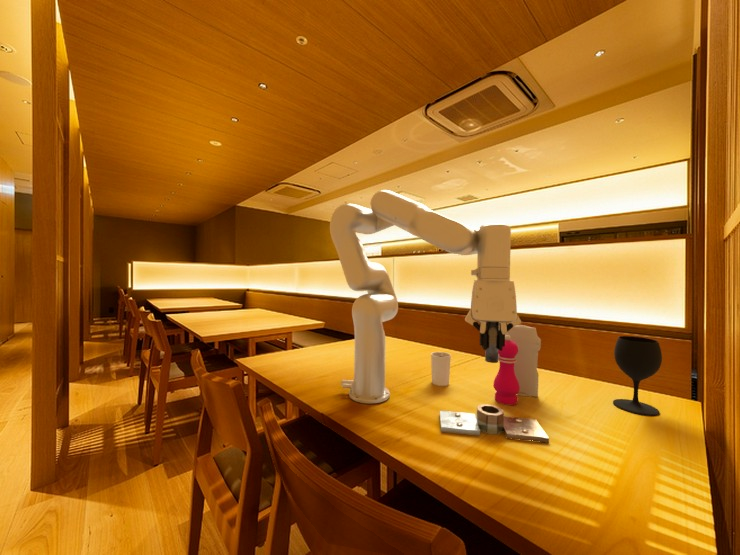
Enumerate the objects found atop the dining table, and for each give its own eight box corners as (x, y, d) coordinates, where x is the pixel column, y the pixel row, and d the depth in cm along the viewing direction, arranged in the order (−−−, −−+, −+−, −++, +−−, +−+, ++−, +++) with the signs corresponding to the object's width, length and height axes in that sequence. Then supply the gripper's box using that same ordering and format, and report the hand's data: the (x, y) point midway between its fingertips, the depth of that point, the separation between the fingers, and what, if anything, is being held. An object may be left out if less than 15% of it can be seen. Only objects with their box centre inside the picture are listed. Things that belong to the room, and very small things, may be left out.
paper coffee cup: (452, 382, 109) (453, 353, 109) (446, 388, 103) (447, 358, 103) (434, 378, 113) (435, 350, 112) (427, 383, 107) (428, 355, 107)
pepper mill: (522, 407, 90) (523, 338, 89) (495, 404, 91) (497, 336, 90) (515, 397, 97) (517, 333, 96) (491, 395, 98) (492, 331, 98)
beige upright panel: (539, 394, 99) (541, 325, 98) (539, 399, 95) (541, 327, 95) (503, 388, 104) (504, 322, 103) (501, 392, 100) (503, 324, 100)
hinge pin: (486, 362, 76) (487, 321, 76) (484, 359, 79) (484, 319, 79) (499, 363, 75) (500, 322, 75) (496, 359, 78) (497, 320, 78)
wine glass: (651, 404, 93) (653, 337, 92) (666, 419, 83) (669, 345, 83) (608, 397, 97) (610, 334, 97) (618, 411, 88) (620, 340, 87)
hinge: (441, 431, 75) (441, 413, 75) (439, 414, 84) (440, 398, 84) (548, 443, 71) (549, 423, 71) (535, 423, 80) (535, 406, 80)
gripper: (460, 274, 74) (459, 351, 75) (534, 275, 71) (532, 355, 72) (457, 274, 82) (456, 343, 82) (524, 275, 79) (522, 347, 79)
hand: (491, 348), depth 77 cm, fingers closed on hinge pin, 3 cm apart
